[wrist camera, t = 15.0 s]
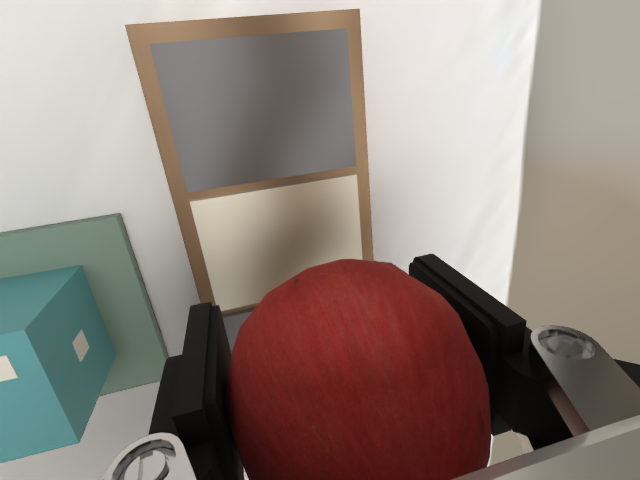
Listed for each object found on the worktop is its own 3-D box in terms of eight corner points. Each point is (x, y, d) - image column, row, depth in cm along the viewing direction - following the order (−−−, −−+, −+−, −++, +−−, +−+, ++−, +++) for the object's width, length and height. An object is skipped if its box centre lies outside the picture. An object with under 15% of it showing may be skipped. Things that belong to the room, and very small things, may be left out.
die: (0, 381, 17) (-85, 486, 12) (-51, 287, 15) (-176, 370, 10) (117, 355, 18) (80, 443, 13) (83, 264, 16) (25, 330, 11)
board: (248, 467, 23) (250, 487, 22) (131, 30, 14) (122, 23, 13) (377, 427, 25) (385, 443, 24) (351, 14, 15) (362, 6, 14)
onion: (400, 348, 13) (605, 632, 6) (249, 394, 12) (284, 794, 5) (388, 202, 11) (689, 382, 4) (204, 244, 10) (155, 586, 3)
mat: (-17, 417, 18) (-25, 427, 17) (-122, 253, 14) (-136, 258, 14) (172, 370, 19) (171, 377, 19) (119, 213, 16) (116, 217, 15)
